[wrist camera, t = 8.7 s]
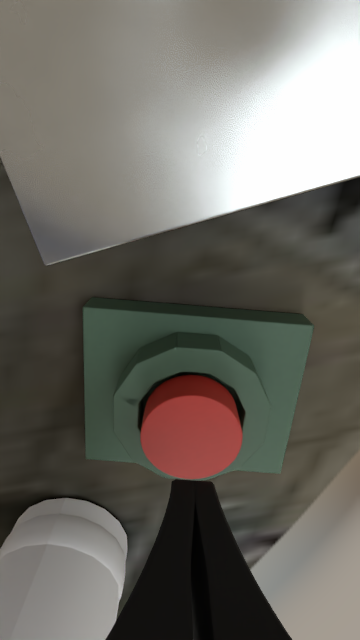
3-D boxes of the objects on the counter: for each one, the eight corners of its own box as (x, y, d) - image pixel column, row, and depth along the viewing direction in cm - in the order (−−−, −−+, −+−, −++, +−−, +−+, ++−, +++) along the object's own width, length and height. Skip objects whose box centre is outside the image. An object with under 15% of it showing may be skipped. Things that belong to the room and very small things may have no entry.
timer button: (142, 448, 17) (138, 475, 15) (146, 370, 16) (142, 391, 14) (230, 455, 17) (235, 483, 16) (243, 378, 16) (249, 399, 14)
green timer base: (92, 439, 21) (75, 485, 18) (91, 296, 18) (69, 320, 14) (273, 453, 21) (289, 501, 18) (303, 313, 18) (329, 340, 15)
